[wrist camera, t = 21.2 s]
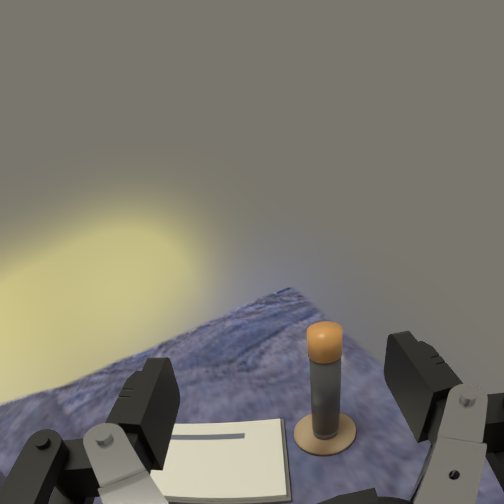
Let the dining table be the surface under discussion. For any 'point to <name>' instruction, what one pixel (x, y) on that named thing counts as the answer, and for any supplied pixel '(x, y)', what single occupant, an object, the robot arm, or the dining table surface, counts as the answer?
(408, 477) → the dining table surface
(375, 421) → the dining table surface
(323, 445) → the coaster
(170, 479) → the notepad
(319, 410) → the marker
